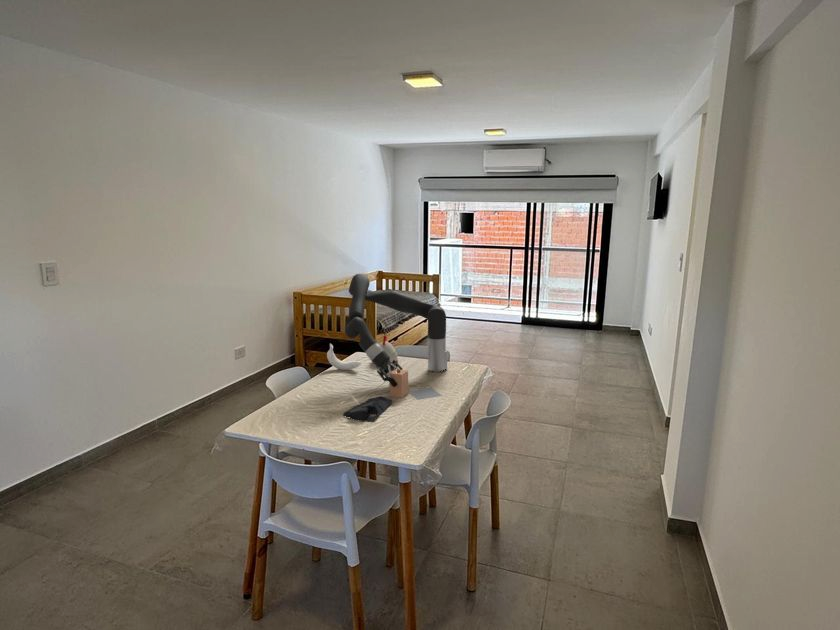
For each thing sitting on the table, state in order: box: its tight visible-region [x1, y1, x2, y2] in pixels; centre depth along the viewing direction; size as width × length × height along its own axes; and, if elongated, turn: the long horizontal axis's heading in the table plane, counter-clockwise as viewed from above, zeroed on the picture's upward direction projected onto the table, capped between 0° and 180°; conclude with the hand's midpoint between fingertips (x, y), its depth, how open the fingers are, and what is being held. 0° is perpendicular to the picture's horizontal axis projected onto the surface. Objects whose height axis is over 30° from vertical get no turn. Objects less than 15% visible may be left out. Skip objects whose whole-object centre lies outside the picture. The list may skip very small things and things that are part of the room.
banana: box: [326, 343, 362, 371], centre depth 259 cm, size 5×19×15 cm, turn 79°
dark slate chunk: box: [342, 395, 393, 423], centre depth 206 cm, size 15×22×5 cm
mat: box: [408, 386, 443, 401], centre depth 224 cm, size 12×12×1 cm
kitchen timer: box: [378, 334, 399, 364], centre depth 272 cm, size 14×14×15 cm
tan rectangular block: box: [388, 368, 409, 398], centre depth 222 cm, size 6×6×12 cm
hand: (400, 383), depth 222 cm, fingers open, 8 cm apart
